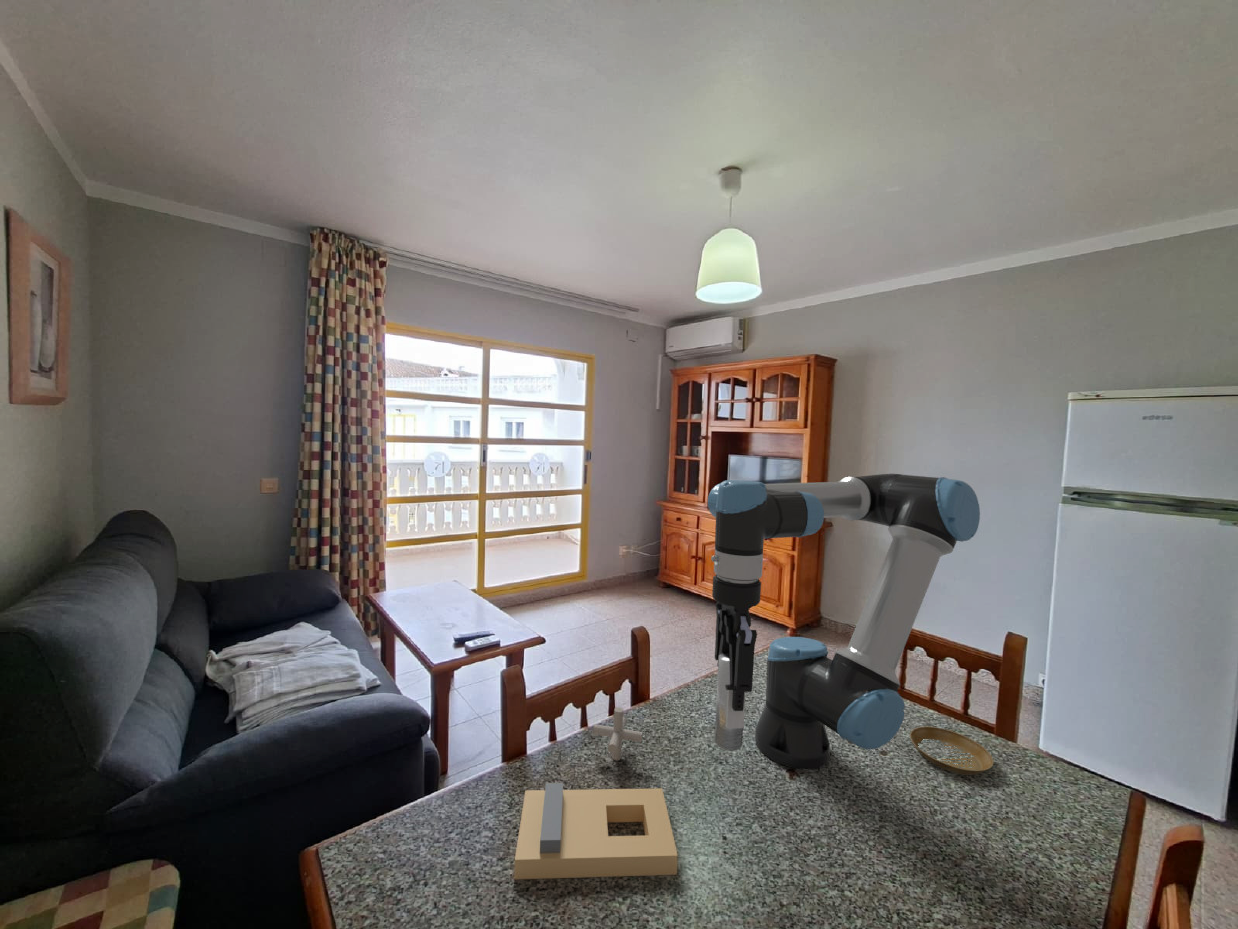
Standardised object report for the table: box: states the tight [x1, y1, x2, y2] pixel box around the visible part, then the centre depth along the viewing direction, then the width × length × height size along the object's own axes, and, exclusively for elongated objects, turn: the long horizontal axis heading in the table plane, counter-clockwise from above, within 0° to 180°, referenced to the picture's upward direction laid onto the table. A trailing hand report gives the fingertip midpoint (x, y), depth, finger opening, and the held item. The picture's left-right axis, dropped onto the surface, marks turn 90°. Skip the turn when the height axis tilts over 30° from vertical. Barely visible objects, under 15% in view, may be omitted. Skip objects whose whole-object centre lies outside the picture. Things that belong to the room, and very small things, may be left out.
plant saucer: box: [909, 726, 995, 776], centre depth 104 cm, size 15×15×3 cm
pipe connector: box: [592, 706, 644, 761], centre depth 99 cm, size 10×10×10 cm
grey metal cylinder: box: [714, 652, 744, 751], centre depth 80 cm, size 4×4×14 cm
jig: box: [513, 782, 679, 880], centre depth 79 cm, size 24×14×5 cm, turn 95°
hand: (729, 717), depth 80 cm, fingers closed on grey metal cylinder, 4 cm apart
